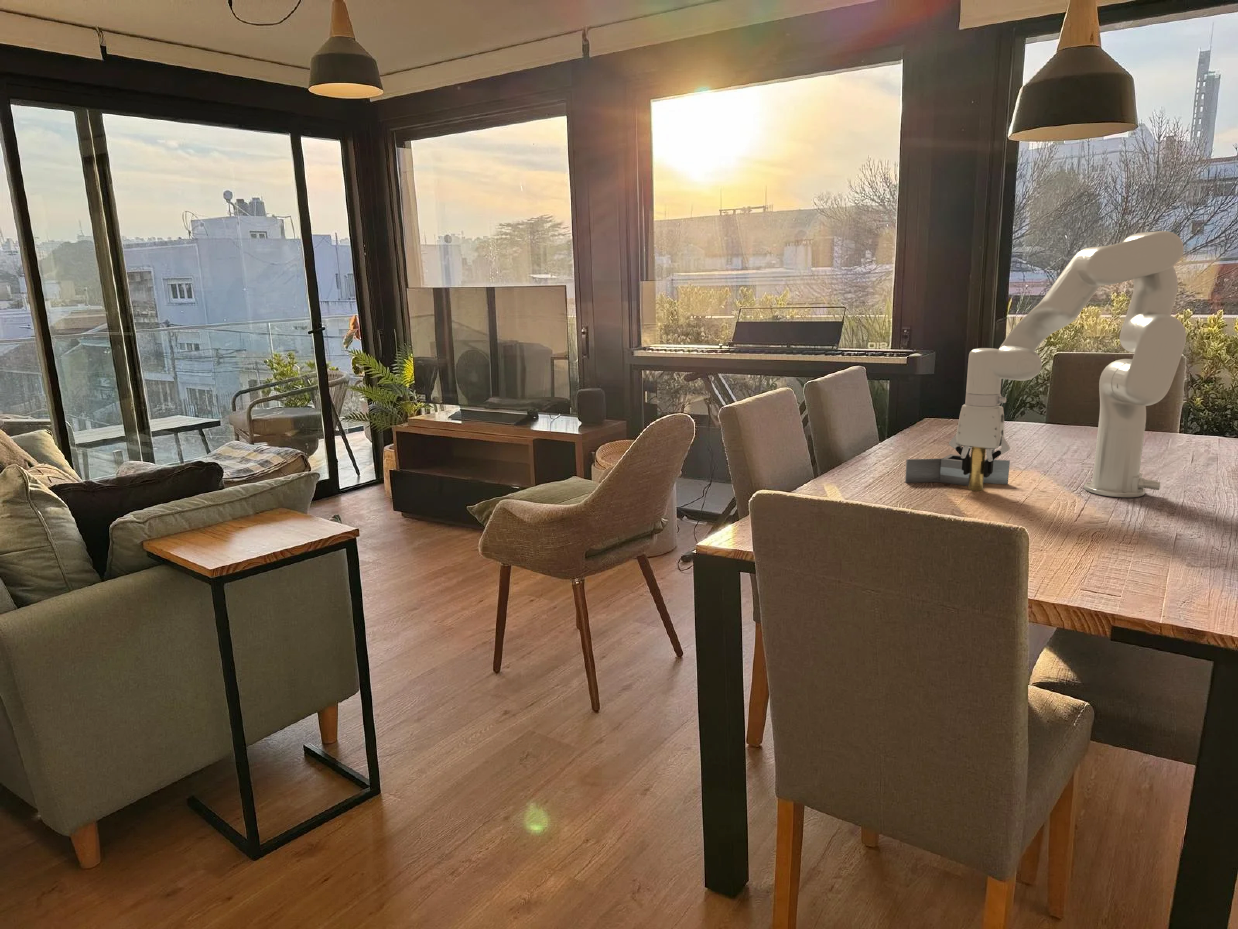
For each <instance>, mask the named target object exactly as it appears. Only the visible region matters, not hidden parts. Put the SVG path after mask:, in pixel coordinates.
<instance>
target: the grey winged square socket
mask: <svg viewBox="0 0 1238 929" xmlns="http://www.w3.org/2000/svg"><path fill="white" fill-rule="evenodd" d="M970 457H971V455H970ZM962 459H963V458H961V455H960V454H951V453H950V454H949V455H946V456H944V457H942V458H940V457H939V458H907V459H905V460H906V462H905V475H904V476H905V478H904V479H905V480H904V481H905V482H904V483H905V484H913V483H915V484H916V483H943V484H950V485H951V484H953V485H959V486H964V487H965V486H966V487H969V477H970V473H968V474H967V475H964V474H963V472H964V470H962ZM986 460H987V458H985V461H986ZM1010 462H1011V460H1010V459H1009V460H1007V459H994V462H993V472H992V474H990V476H988V477H987V478H986V477H984V480H983V484H996V485H997V484H998V485H1008V484H1009V477H1010V476H1009V474H1010Z"/></svg>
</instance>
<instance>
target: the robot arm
mask: <svg viewBox="0 0 1238 929" xmlns="http://www.w3.org/2000/svg"><path fill="white" fill-rule="evenodd" d="M1183 243H1184V242H1183V240H1182V239H1181V237H1180V236H1179V235H1177V234H1176V233H1174V232H1172V231H1168V230H1157V231H1146V232H1145V231H1143V232H1138V233H1134V234H1131V235H1129V236H1128V237H1126V238H1124V240H1123V241H1122V242H1119V243H1115V244H1110V245H1103V246H1090V247H1086V248H1083V249H1082V250H1079V251H1078V252H1077V253H1076V254H1075V255H1073V257H1072V258H1071V260H1070V261H1069V262H1068V264H1067V265H1066V266H1065V268H1063V271H1062V272H1061V273H1060V275H1059V276H1058V277H1057V279H1056V280H1055V281H1054V283H1053V285H1051V287H1050V288H1049V290H1048V291H1047V292H1046V294H1045V295H1044V297H1043V298H1042V299H1041V300H1040V301H1039V302H1038V304H1037V305H1035V307H1033V308H1032V309H1031V310H1030V311H1029V312H1028V313H1027V314H1026V315H1025V316H1024V317H1023V318H1022V319H1021V320H1020V321H1019V322H1018V323H1017V324H1016V325H1015V327H1013V329H1011V331H1010V332H1009V334H1008V335H1007V336H1006V338H1005V339H1004V340H1003V342H1002V343H1001V344H1000V346H999V348H990V347H979V348H973V349H972V350H971V351H969V354H968V360H967V361H968V363H967V377H966V388H965V389H966V390H965V403H964V404H963V405H961V408H960V413H959V417H958V418H959V419H958V422H957V429H956V433H955V435H954V436H953V437H952V438H951V439H950V440H949V442H948V445H949V446H950V447H951V448H953V449H954V450H955V451H956V452H957V454H958V455H961V458H963V459H962V470H964V472H963V474H964V475H967V474H968V473H970V463H971V457H970V456H971V450H972V447H976V448H985V449H986V459H987V460H986V461H985V464H984V477H986V478H987V477H988V476H990V474H992V472H993V462H994V460H997V458H998V457H1000V456H1001V455H1003V454H1005V453H1008V452H1009V451H1010V450H1011V447H1010V445H1009V444H1008V442H1007V440H1006V438H1005V413H1004V407H1003V406H1001V404H1005V403H1007V397H1006V396H1005V397H1004V396H1002V394H1001V388H1002V380H1010V381H1011V380H1012V381H1018V382H1019V381H1020V382H1023V381H1029V380H1032V379H1034V378H1035V377H1037V376H1038V374H1039V373H1041V370H1042V368H1043V361H1042V359H1041V357H1040V356H1041V355H1039V354H1038V353H1037V352H1036V350H1037V348H1038V347H1039V346H1040V345H1041V344H1042V343H1043V342H1044V341H1045V340H1046V339H1047V338H1048V337H1050V336H1051V335H1052V334H1054V333H1056V332H1057V331H1059V330H1061V329H1063V328H1065V327H1067V326H1070V324H1071V323H1073V322H1074V321H1075V320H1076V319H1077V318H1078V317H1079V315H1080V314H1081V312H1082V311H1083V310H1084V308H1085V307H1086V306H1087V304H1088V303H1089V302H1090V300H1091V299H1092V298H1093V296H1094V295H1095V294H1096V293H1097V291H1098V290H1099V288H1100V287H1101V286H1110V285H1111V286H1112V285H1115V284H1120V283H1125V282H1129V281H1133V289H1132V290H1133V291H1132V295H1131V299H1130V303H1129V305H1128V309H1127V312H1126V315H1125V318H1124V321H1123V324H1122V325H1121V330H1120V333H1119V343H1120V346H1121V347H1122V348H1123V349H1124V350H1125V351H1127V352H1129V353H1132V354H1133V355H1132V358H1122V359H1116V360H1115V361H1112V362H1110V363H1108V365H1106V366H1105V368H1103V370H1102V371H1101V374H1100V377H1099V382H1098V384H1099V385H1098V388H1099V389H1098V391H1099V417H1098V427H1097V435H1096V443H1095V444H1096V445H1095V453H1094V464H1093V473H1092V480H1091V481H1087V482H1085V483H1084V487H1083V488H1084V490H1085V491H1087V492H1089V493H1092V494H1095V495H1100V496H1106V497H1112V498H1137V497H1138V498H1140V497H1143V496H1144V495H1145V494H1146V489H1150V490H1155V491H1160V490H1161V486H1162V485H1161V481H1157V480H1154V479H1146V478H1144V477H1143V473H1142V472H1141V463H1142V454H1143V446H1144V438H1145V431H1146V425H1147V424H1146V423H1147V406H1152V405H1155V404H1157V403H1159V402H1160V401H1162V400H1163V399H1164V398H1165V397H1166V395H1167V394H1168V392H1169V390H1170V388H1171V386H1172V384H1173V381H1174V378H1175V376H1176V373H1177V370H1178V368H1179V364H1180V362H1181V359H1182V355H1183V353H1184V350H1185V347H1186V342H1187V333H1186V328H1185V326H1184V324H1183V323H1182V322H1181V321H1180V320H1179V319H1178V318H1176V317H1175V316H1173V315H1172V313H1173V308H1174V306H1175V302H1176V298H1177V293H1178V287H1179V286H1178V285H1179V284H1178V283H1179V282H1178V276H1177V272H1176V269H1175V267H1174V266H1175V265H1176V264H1178V262H1179V261H1180V260H1181V258H1182V257H1183V254H1184V249H1185V248H1184V244H1183ZM999 447H1001V448H999ZM998 448H999V449H998ZM995 449H997V450H995Z"/></svg>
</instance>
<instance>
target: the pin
mask: <svg viewBox="0 0 1238 929" xmlns="http://www.w3.org/2000/svg"><path fill="white" fill-rule="evenodd" d="M970 456H971V463H970V477H969V486H968V490H969V491H971V492H972V491H973V492H982V491H983V490H984V483H983V480H984V464H985V459H986V456H987V453H986V449H985V448H976V447H971V450H970Z"/></svg>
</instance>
